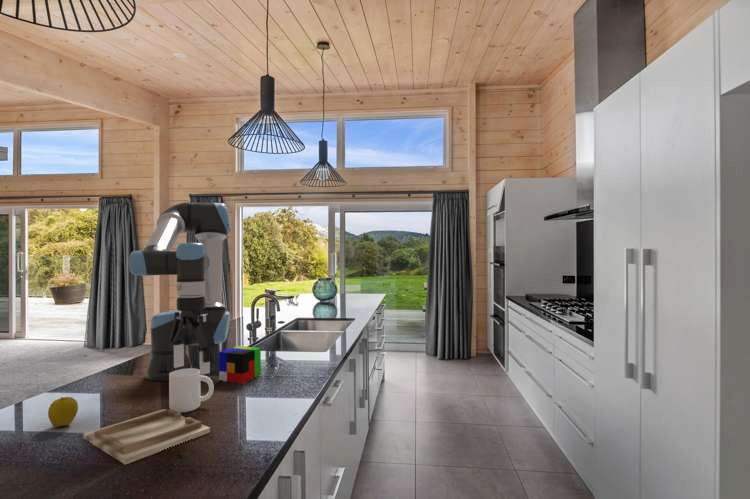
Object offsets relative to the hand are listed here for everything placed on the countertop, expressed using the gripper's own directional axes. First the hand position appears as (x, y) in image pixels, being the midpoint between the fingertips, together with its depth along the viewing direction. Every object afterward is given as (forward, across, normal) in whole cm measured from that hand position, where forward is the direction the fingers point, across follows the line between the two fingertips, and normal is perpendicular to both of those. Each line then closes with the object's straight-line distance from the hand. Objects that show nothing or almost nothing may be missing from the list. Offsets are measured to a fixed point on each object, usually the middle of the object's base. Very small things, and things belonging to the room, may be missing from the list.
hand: (191, 370), depth 126 cm
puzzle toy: (+11, -13, +26) cm, 31 cm away
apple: (+11, -15, -27) cm, 33 cm away
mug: (+11, 0, 0) cm, 11 cm away
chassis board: (+11, +9, -17) cm, 22 cm away
